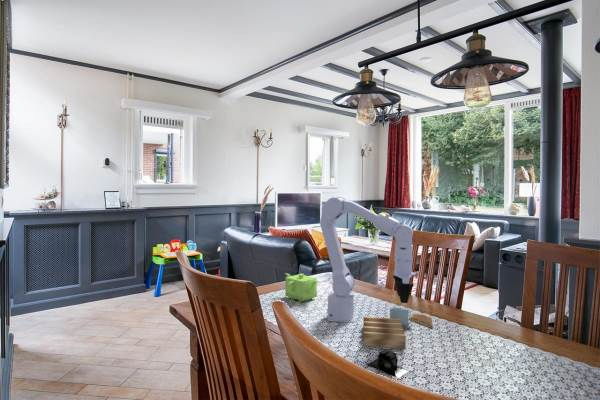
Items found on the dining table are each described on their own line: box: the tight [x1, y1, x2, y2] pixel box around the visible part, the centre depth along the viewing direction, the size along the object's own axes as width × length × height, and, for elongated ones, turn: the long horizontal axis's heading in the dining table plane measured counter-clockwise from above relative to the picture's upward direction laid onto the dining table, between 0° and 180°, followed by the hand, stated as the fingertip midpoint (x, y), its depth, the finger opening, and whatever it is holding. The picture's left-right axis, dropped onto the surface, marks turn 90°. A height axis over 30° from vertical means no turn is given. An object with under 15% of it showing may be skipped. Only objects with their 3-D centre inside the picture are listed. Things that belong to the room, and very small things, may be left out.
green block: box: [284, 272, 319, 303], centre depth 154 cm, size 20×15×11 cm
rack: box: [362, 316, 407, 349], centre depth 113 cm, size 12×14×4 cm
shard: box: [408, 313, 434, 329], centre depth 126 cm, size 11×8×2 cm
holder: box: [402, 321, 412, 331], centre depth 122 cm, size 7×5×1 cm
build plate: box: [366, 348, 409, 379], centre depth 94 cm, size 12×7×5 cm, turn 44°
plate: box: [389, 306, 409, 326], centre depth 122 cm, size 6×2×6 cm, turn 81°
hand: (402, 299), depth 123 cm, fingers open, 7 cm apart
